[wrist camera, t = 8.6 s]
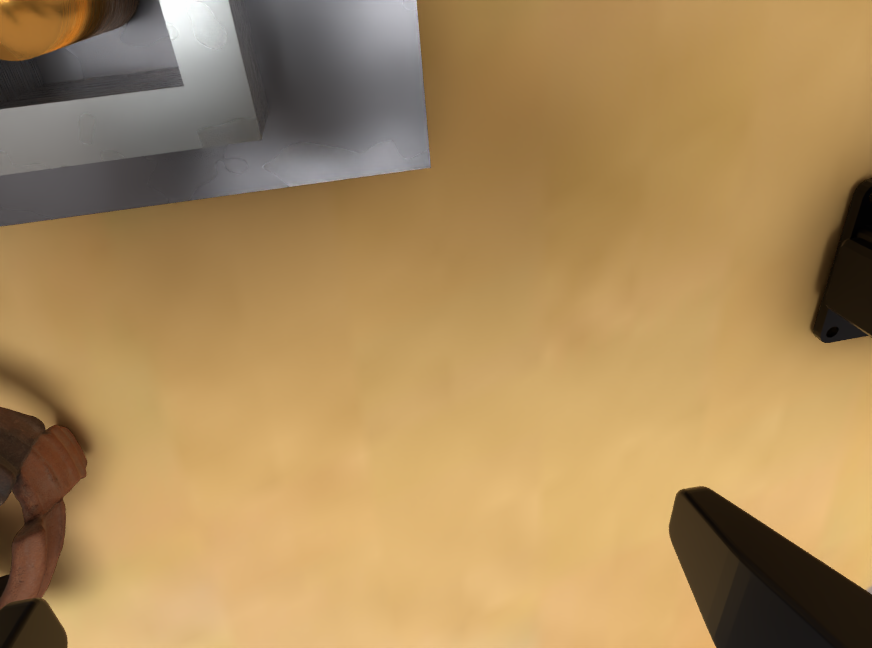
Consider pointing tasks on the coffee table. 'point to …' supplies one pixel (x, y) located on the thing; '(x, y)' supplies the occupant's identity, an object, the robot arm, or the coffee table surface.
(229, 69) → the grey square frame
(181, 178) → the keeper
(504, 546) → the coffee table surface
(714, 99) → the coffee table surface
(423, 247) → the coffee table surface
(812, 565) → the robot arm
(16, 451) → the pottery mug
